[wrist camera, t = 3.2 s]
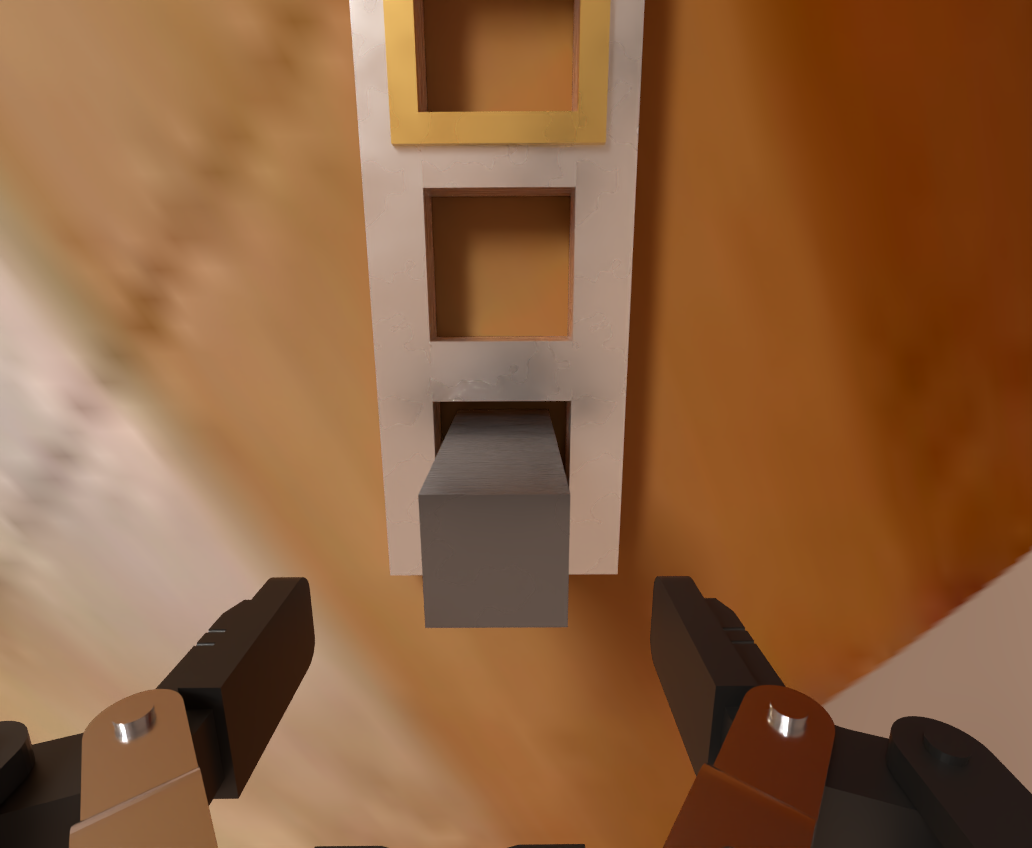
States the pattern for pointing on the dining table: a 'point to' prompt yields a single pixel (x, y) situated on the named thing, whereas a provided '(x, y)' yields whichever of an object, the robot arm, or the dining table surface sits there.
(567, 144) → the rail
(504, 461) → the peg
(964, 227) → the dining table surface
